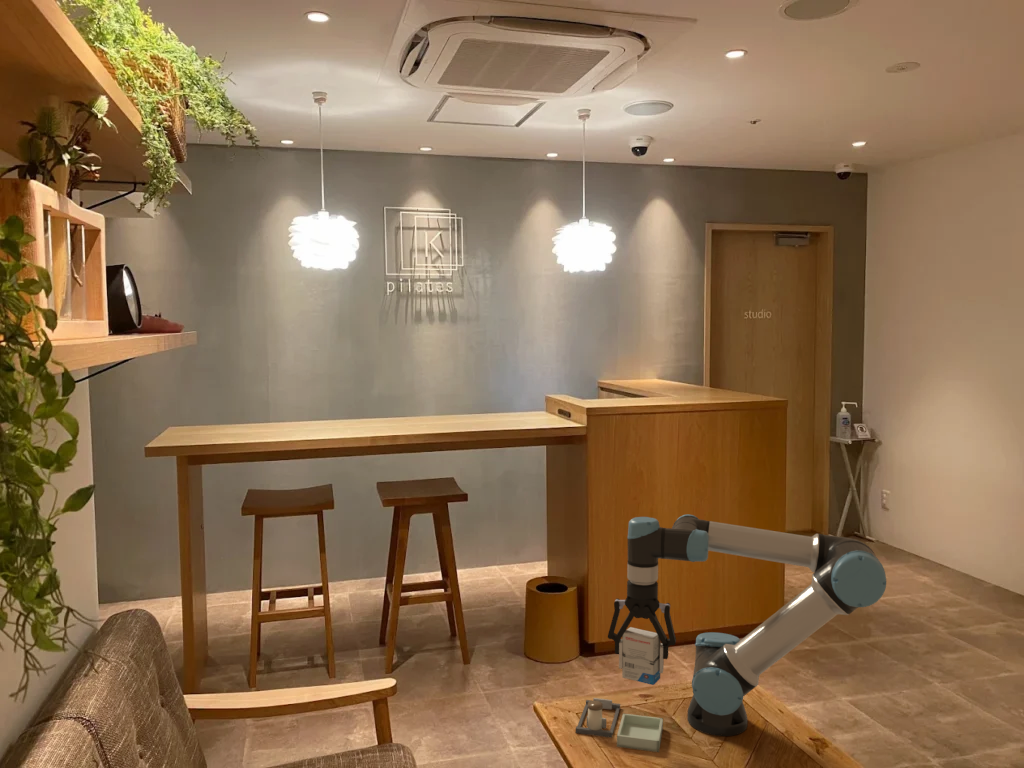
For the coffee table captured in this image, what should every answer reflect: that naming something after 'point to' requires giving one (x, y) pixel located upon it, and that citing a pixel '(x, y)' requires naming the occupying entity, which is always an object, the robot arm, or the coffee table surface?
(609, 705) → the rail
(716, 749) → the coffee table surface
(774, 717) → the coffee table surface
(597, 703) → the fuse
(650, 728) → the tray
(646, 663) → the ink box
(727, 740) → the coffee table surface
